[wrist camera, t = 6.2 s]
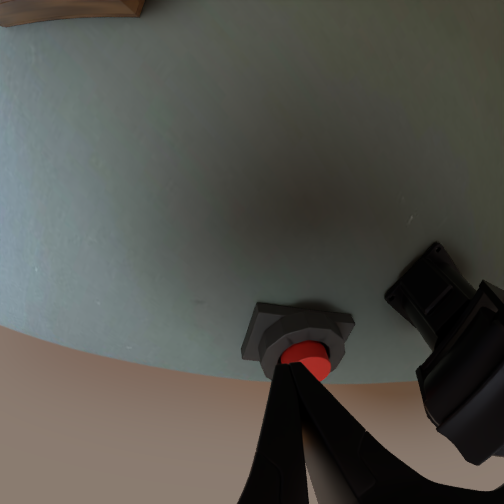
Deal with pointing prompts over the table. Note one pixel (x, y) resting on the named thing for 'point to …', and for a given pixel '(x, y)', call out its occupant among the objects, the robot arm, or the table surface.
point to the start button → (309, 357)
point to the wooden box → (65, 10)
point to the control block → (293, 333)
